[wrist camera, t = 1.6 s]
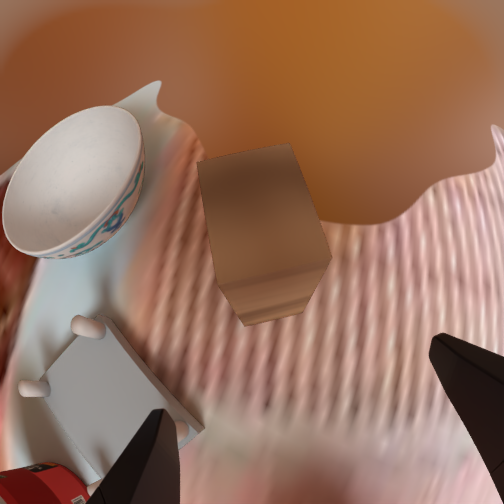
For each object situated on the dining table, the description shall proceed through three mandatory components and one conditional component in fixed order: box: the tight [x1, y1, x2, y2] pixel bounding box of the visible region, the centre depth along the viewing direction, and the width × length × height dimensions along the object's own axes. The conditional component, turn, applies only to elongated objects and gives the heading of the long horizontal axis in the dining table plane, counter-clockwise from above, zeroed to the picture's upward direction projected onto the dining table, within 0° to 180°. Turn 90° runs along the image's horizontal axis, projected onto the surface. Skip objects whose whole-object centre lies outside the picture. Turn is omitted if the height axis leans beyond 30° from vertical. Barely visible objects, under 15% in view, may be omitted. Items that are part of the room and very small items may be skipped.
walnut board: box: [197, 143, 332, 326], centre depth 18 cm, size 6×4×12 cm
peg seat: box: [18, 314, 205, 496], centre depth 18 cm, size 12×10×5 cm
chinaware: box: [2, 106, 145, 259], centre depth 24 cm, size 15×15×8 cm
